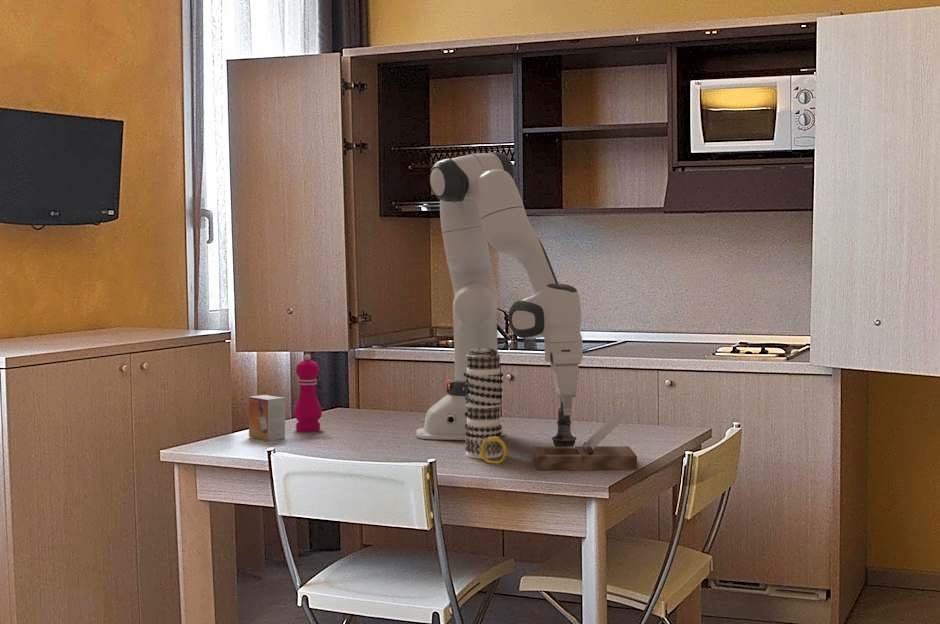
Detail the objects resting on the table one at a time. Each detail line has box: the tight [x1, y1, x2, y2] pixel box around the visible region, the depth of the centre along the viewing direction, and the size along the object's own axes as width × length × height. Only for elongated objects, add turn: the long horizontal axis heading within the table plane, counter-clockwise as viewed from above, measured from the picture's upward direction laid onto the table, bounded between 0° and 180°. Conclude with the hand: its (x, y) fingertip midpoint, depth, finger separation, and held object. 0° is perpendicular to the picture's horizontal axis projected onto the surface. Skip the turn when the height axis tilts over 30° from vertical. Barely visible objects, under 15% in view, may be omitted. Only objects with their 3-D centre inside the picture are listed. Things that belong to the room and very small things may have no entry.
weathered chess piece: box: [551, 406, 577, 447], centre depth 283 cm, size 6×6×12 cm
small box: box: [248, 394, 286, 442], centre depth 305 cm, size 8×6×10 cm
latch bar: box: [582, 407, 628, 450], centre depth 269 cm, size 12×5×1 cm
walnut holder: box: [532, 441, 638, 471], centre depth 270 cm, size 22×12×4 cm, turn 91°
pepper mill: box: [293, 353, 323, 433], centre depth 317 cm, size 7×7×20 cm
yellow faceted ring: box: [481, 436, 508, 465], centre depth 272 cm, size 6×3×6 cm, turn 66°
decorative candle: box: [464, 348, 504, 460], centre depth 281 cm, size 9×9×25 cm
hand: (565, 411), depth 283 cm, fingers open, 8 cm apart
